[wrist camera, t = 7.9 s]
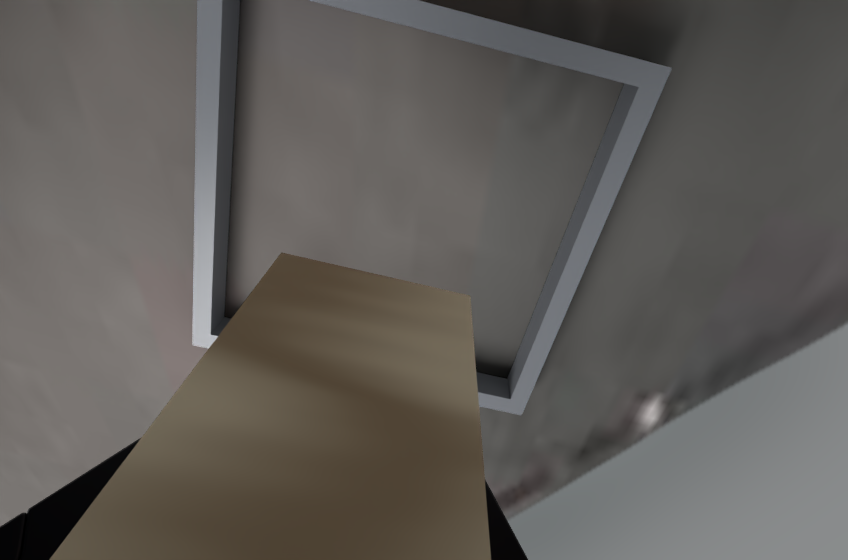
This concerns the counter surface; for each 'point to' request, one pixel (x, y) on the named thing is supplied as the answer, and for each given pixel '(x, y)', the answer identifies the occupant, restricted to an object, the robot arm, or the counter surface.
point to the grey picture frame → (404, 7)
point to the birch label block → (311, 434)
